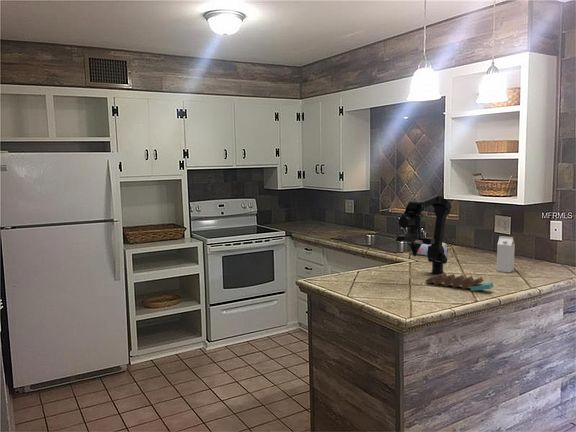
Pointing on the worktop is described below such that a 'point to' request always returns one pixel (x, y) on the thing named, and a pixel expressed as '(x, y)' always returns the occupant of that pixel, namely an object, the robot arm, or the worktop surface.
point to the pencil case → (424, 249)
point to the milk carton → (505, 254)
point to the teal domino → (481, 286)
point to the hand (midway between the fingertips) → (414, 256)
